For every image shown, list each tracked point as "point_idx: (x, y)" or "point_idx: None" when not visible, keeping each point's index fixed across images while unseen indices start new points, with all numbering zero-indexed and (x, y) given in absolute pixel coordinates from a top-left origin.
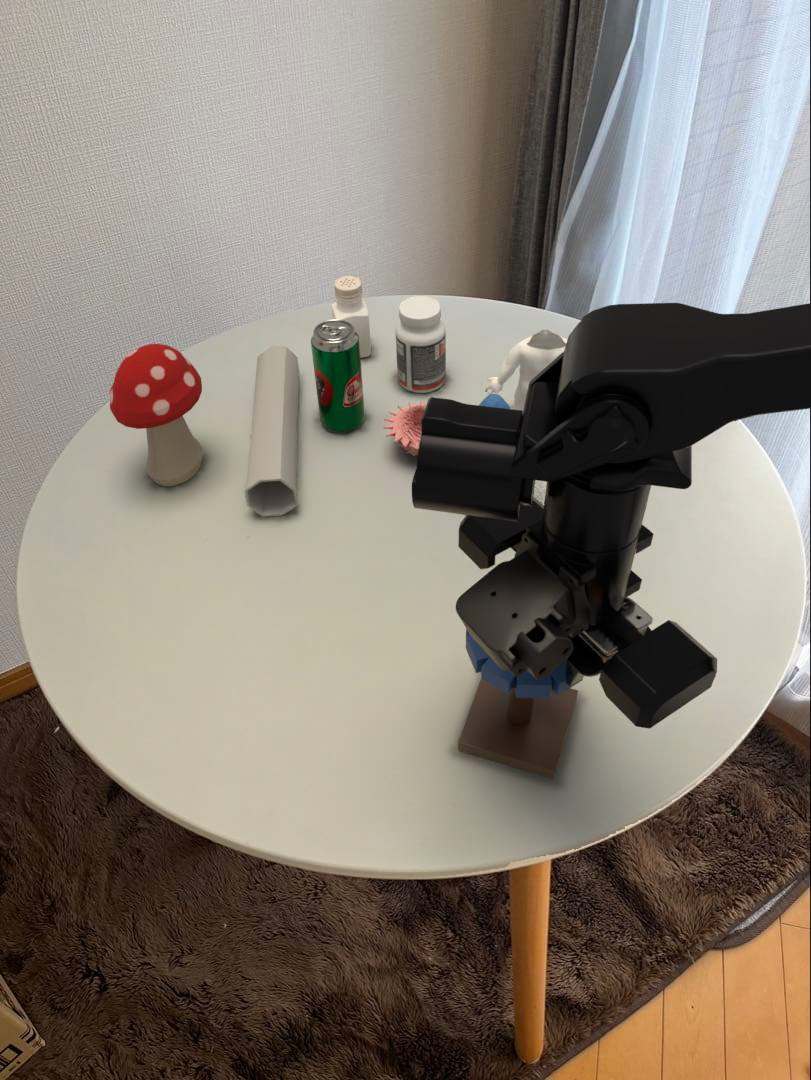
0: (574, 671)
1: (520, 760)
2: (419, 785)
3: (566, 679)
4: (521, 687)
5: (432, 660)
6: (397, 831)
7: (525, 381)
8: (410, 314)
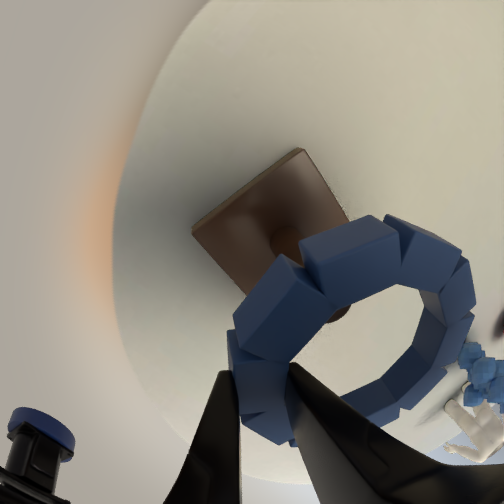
0: (199, 450)
1: (231, 203)
2: (285, 76)
3: (230, 382)
4: (285, 282)
5: (404, 202)
6: (248, 21)
7: (491, 417)
8: None
